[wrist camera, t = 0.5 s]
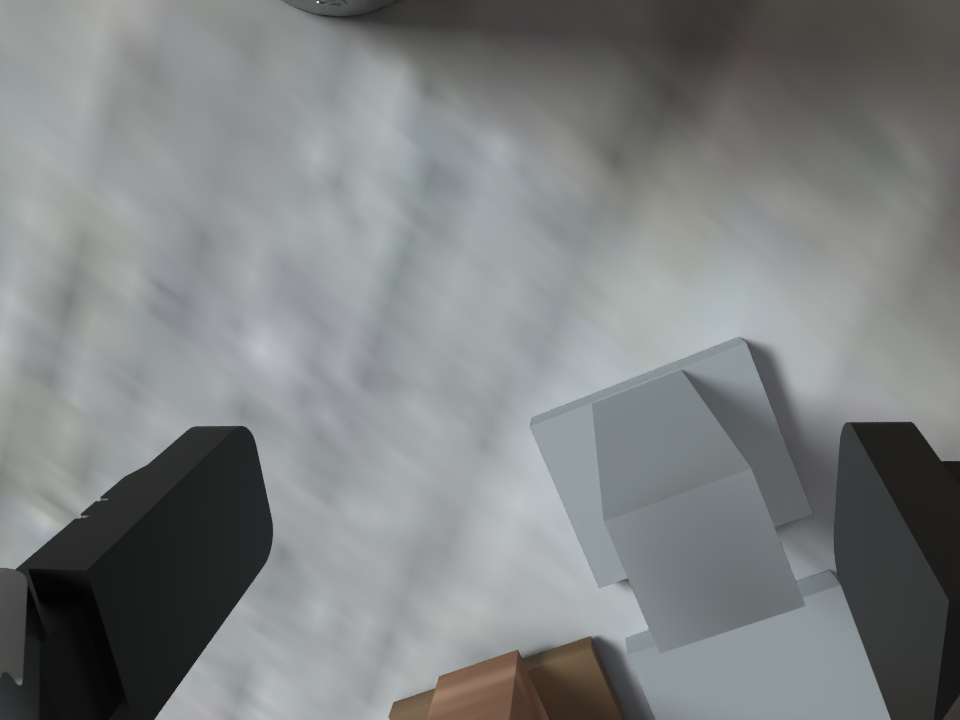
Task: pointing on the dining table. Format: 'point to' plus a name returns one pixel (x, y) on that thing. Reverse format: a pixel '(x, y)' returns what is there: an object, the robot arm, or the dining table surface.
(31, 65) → the dining table surface
